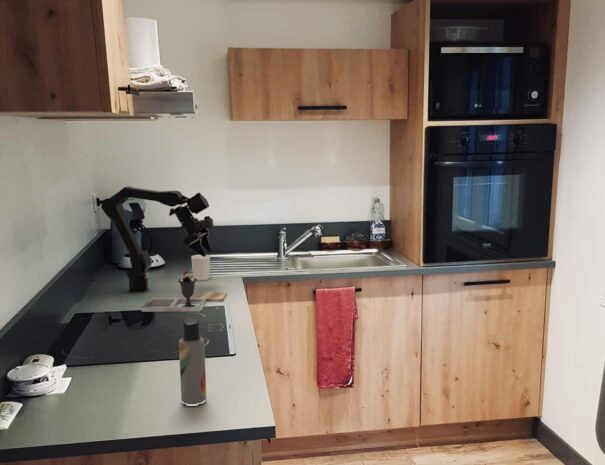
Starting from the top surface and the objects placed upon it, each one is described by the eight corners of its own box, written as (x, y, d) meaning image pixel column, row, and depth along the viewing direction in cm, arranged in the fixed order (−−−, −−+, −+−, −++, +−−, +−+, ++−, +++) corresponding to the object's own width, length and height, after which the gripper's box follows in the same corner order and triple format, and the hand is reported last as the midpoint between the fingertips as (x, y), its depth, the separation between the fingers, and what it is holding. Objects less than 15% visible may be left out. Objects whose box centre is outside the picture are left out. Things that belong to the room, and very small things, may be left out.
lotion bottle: (208, 395, 130) (205, 315, 127) (204, 407, 125) (201, 323, 121) (183, 396, 130) (180, 315, 127) (179, 407, 124) (175, 323, 121)
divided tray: (141, 311, 193) (141, 307, 193) (150, 302, 204) (150, 298, 204) (200, 311, 193) (200, 307, 193) (206, 302, 204) (206, 298, 204)
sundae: (187, 303, 203) (186, 263, 200) (201, 306, 200) (200, 265, 197) (175, 307, 197) (173, 267, 195) (189, 310, 194) (187, 269, 191)
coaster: (198, 301, 205) (198, 299, 205) (203, 294, 214) (203, 292, 214) (222, 301, 205) (222, 299, 205) (226, 294, 214) (226, 292, 213)
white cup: (212, 276, 241) (212, 254, 240) (207, 281, 234) (207, 258, 232) (195, 276, 242) (194, 254, 240) (190, 281, 234) (189, 258, 233)
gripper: (198, 213, 204) (219, 248, 206) (209, 206, 222) (229, 239, 224) (173, 227, 205) (195, 263, 207) (186, 220, 224) (206, 252, 226)
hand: (207, 253), depth 216 cm, fingers open, 9 cm apart
